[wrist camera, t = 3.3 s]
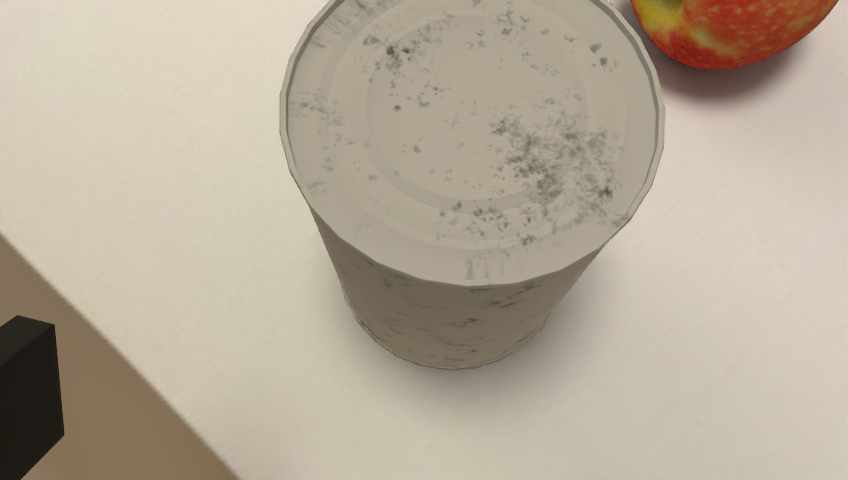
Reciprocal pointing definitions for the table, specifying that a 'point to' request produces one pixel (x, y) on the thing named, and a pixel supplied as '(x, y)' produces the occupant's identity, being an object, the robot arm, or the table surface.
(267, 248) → the table surface
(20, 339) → the robot arm
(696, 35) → the apple
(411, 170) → the dirty tin can
